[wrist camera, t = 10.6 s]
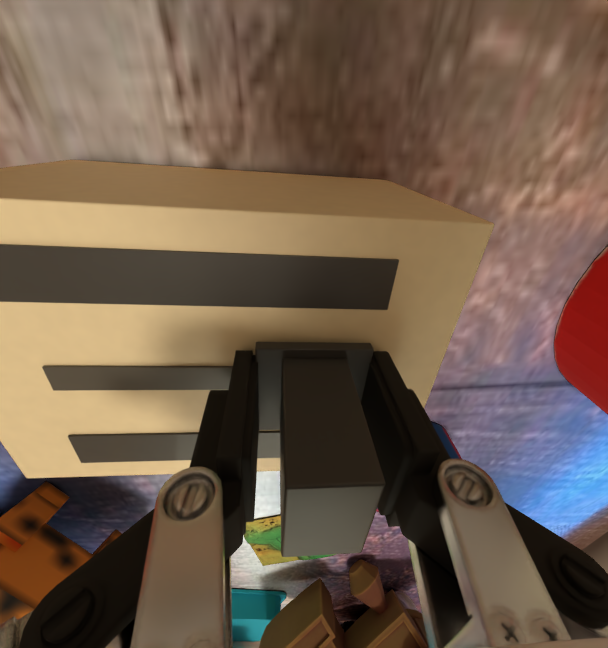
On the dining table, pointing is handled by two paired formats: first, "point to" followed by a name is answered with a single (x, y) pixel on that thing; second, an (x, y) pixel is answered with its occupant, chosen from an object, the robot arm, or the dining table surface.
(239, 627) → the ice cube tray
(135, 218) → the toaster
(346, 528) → the slider
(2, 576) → the toy animal
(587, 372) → the toy clock
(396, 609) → the wooden toy train
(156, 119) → the dining table surface
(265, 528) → the terrain map
